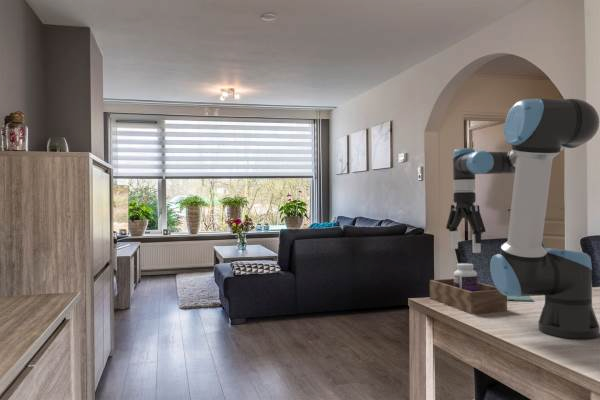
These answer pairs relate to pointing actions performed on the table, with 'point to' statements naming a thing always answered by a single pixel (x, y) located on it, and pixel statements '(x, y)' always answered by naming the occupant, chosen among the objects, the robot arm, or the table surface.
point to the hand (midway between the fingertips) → (465, 250)
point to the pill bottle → (466, 277)
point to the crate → (468, 297)
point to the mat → (520, 298)
